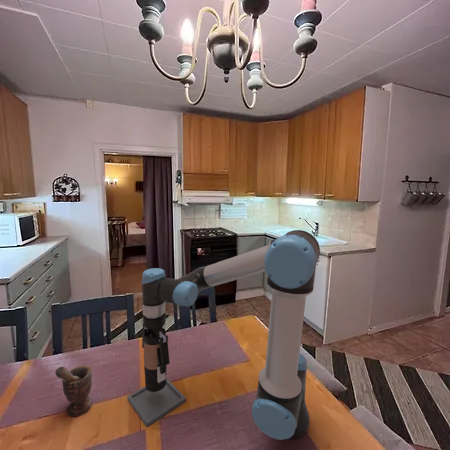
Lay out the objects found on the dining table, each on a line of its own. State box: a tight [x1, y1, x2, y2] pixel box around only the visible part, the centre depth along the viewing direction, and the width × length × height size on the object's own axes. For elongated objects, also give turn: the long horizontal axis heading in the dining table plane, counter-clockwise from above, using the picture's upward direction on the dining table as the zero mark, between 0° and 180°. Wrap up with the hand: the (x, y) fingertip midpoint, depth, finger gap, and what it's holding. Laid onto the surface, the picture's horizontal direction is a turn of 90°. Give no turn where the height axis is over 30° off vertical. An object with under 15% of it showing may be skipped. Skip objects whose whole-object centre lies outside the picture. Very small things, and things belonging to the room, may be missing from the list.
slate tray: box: [127, 377, 187, 428], centre depth 91 cm, size 15×15×2 cm
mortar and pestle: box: [54, 365, 93, 418], centre depth 85 cm, size 12×9×20 cm
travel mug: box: [143, 327, 167, 392], centre depth 89 cm, size 8×8×20 cm
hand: (155, 374), depth 90 cm, fingers closed on travel mug, 8 cm apart
